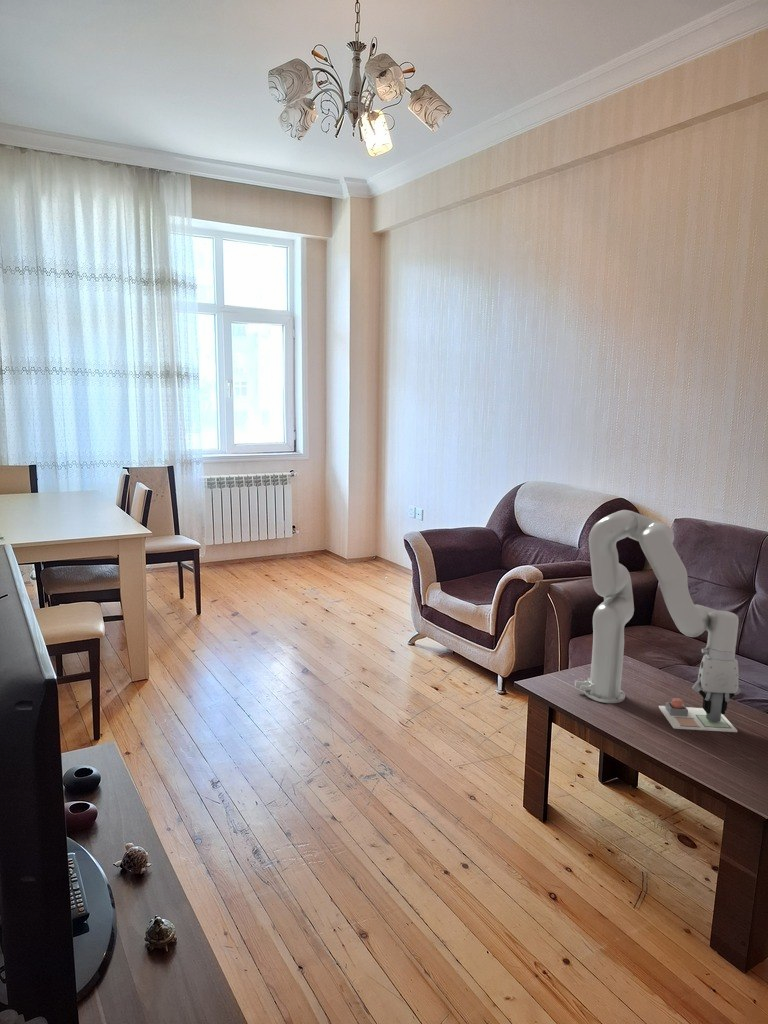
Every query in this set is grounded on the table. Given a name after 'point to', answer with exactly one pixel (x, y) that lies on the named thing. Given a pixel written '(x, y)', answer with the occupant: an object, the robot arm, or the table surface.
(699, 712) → the picture board
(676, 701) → the button
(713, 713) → the cylinder
